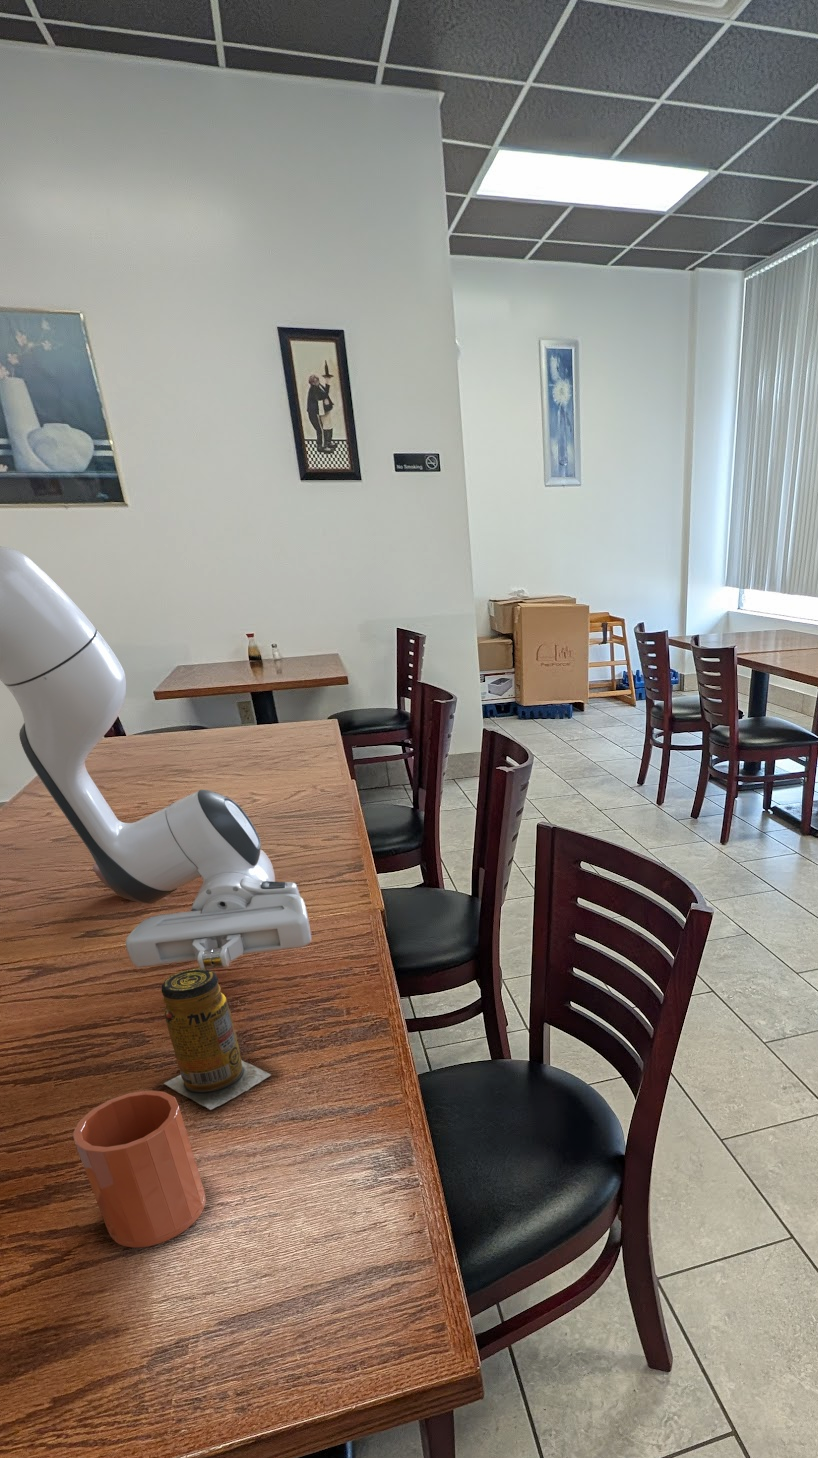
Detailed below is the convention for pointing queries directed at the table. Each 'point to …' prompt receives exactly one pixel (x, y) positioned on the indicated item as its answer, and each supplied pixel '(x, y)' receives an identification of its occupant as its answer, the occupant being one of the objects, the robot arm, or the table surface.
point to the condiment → (205, 1040)
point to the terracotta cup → (141, 1167)
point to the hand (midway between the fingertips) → (212, 963)
